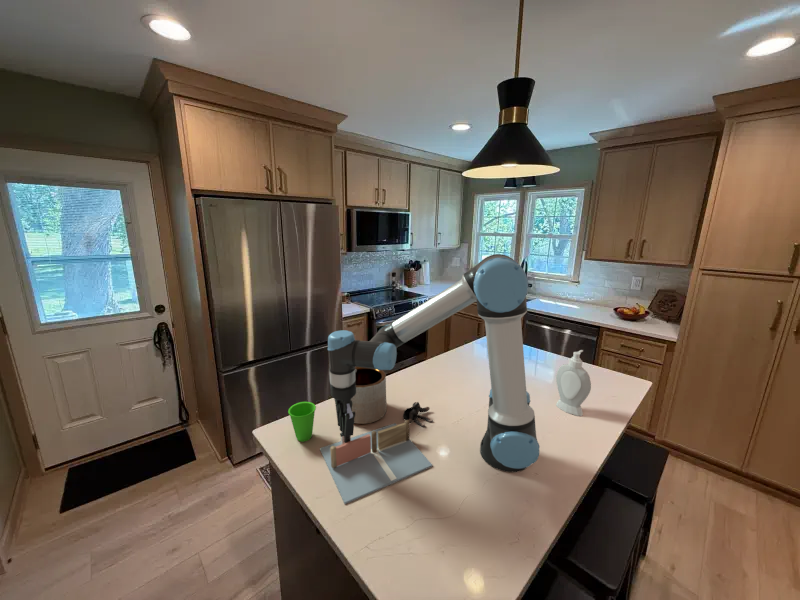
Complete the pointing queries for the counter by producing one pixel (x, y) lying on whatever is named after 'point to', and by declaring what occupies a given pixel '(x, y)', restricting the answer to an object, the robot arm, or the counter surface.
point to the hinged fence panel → (350, 450)
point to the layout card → (375, 467)
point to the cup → (302, 419)
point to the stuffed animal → (416, 414)
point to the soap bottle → (573, 385)
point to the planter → (369, 395)
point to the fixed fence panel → (390, 436)
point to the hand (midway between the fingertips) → (346, 450)
